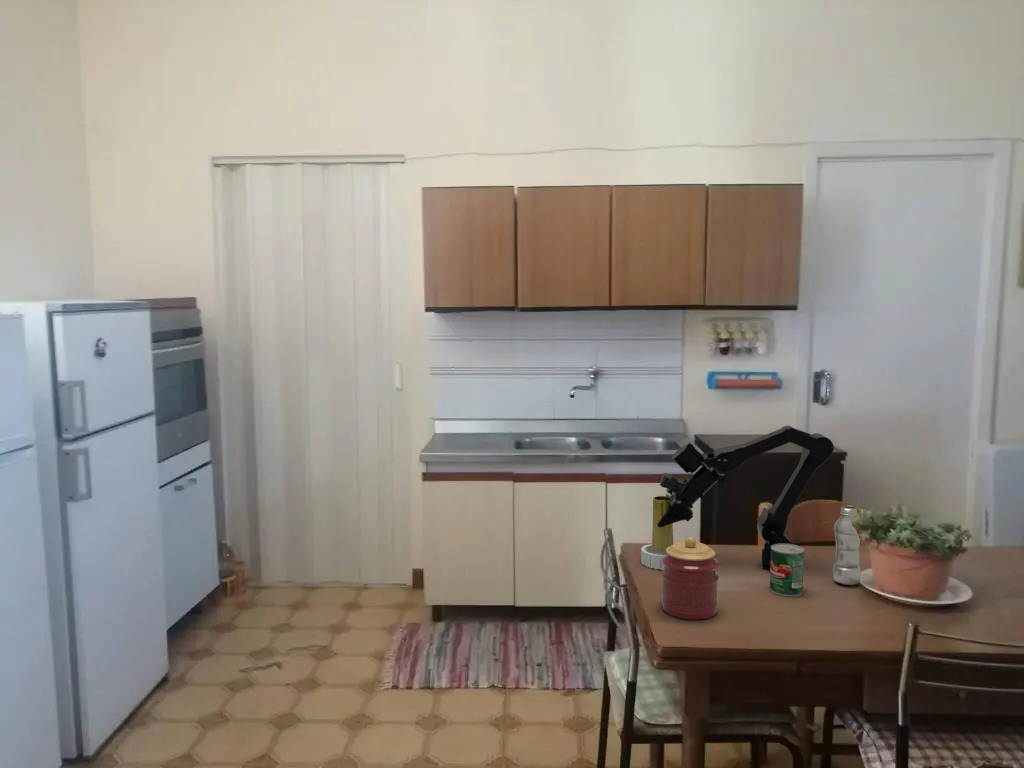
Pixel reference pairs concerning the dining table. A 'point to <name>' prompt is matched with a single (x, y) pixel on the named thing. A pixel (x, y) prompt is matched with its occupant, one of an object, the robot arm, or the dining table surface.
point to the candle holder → (652, 557)
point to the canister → (690, 580)
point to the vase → (661, 535)
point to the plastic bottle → (846, 548)
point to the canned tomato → (786, 569)
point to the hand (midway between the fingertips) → (657, 523)
